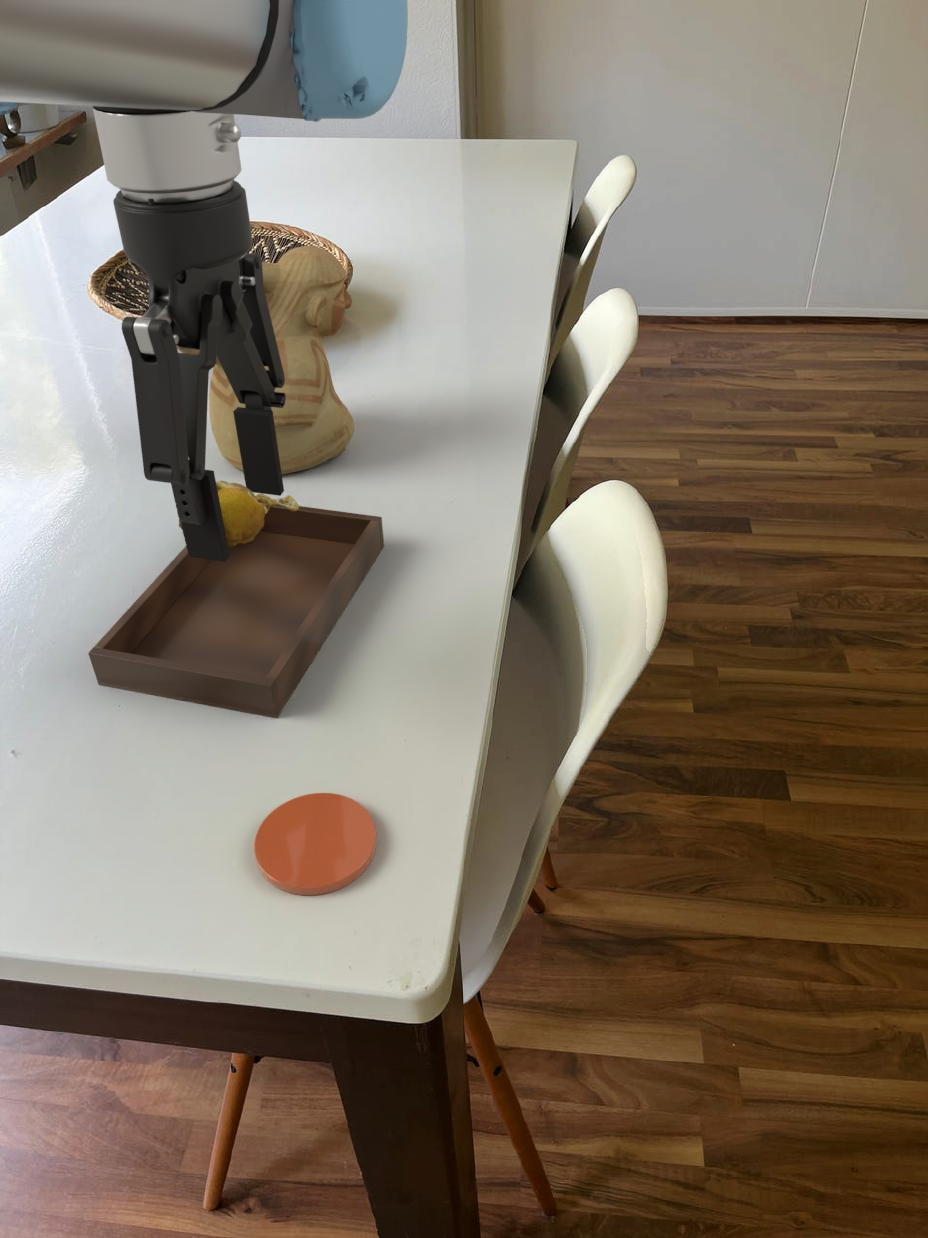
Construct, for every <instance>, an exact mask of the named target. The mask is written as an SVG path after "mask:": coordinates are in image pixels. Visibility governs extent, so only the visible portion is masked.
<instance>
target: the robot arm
mask: <svg viewBox="0 0 928 1238" xmlns="http://www.w3.org/2000/svg"><path fill="white" fill-rule="evenodd" d="M408 5H409V4H408V0H0V116H5V115H8V114H11V113H12V112H13V110H14V109H17V108H19V107H21V106H28V105H36V104H37V105H38V104H39V105H40V104H42V105H63V106H64V105H65V106H82V107H83V106H85V107H92V111H93V112H92V113H93V116H94V122H95V126H96V131H97V135H98V142H99V145H100V150H101V155H102V161H103V166H104V170H105V175H106V180H107V181H108V182H109V183H110V184H111V185H112V186H113V187H114V188H117V189H119V191H117V193H116V194H115V197H114V199H113V201H112V202H113V207H114V212H115V216H116V222H117V226H118V230H119V235H120V240H121V245H122V249H123V252H124V255H125V256H126V258H127V259H128V260H129V261H130V262H131V263H133V264H134V265H136V266H138V267H139V268H140V269H141V270H142V271H143V272H144V273H145V274H146V275H147V281H148V282H147V283H148V295H147V296H148V297H147V302H148V309H147V310H146V311H145V312H144V314H143V315H142V316H139V317H137V316H125V317H123V319H122V322H121V333H122V335H123V337H124V341H125V344H126V347H127V350H128V353H129V356H130V359H131V361H130V362H131V368H132V377H133V386H134V395H135V405H136V413H137V422H138V430H139V431H138V432H139V439H140V450H141V459H142V467H143V475H144V477H145V479H146V480H147V481H152V482H157V483H159V482H160V483H167V484H170V485H171V489H172V490H171V491H172V494H173V499H174V504H175V508H176V512H177V513H176V514H177V517H178V520H179V519H180V521H181V524H182V528H183V531H182V534H183V533H184V535H183V538H184V537H185V538H184V542H185V546H187V551H188V556H189V557H195V558H202V559H209V560H216V561H223V562H225V561H226V560H227V559H228V558H229V556H230V554H229V548H228V543H227V538H226V533H225V527H224V522H223V517H222V512H221V506H220V501H219V496H218V491H217V485H216V482H217V481H216V475H215V471H214V470H212V469H211V470H210V469H206V455H207V454H206V453H207V426H208V425H207V424H208V404H209V377H210V376H209V375H210V374H209V373H210V370H213V368H214V366H215V365H216V361H217V358H218V360H219V362H220V364H221V366H222V368H223V370H224V372H225V374H226V376H227V378H228V380H229V383H230V385H231V387H232V389H233V391H234V393H235V395H236V397H237V399H238V401H239V403H241V404H245V408H243V407H237V408H236V409H235V410H234V411H233V413H234V419H235V425H236V431H237V437H238V443H239V449H240V454H241V460H242V466H243V471H242V472H243V477H244V483H245V487H247V488H248V489H249V490H250V491H252V492H253V494H255V493H256V494H261V493H263V494H264V495H272V496H278V497H280V496H281V495H282V494H283V493H284V492H285V487H284V481H283V474H282V473H281V466H280V459H279V452H278V445H277V438H276V431H275V424H274V417H273V411H272V410H271V407H277V408H283V407H284V405H285V401H286V396H285V393H280V392H275V389H276V388H282V387H283V386H284V382H285V376H284V371H283V367H282V363H281V359H280V355H279V350H278V346H277V342H276V338H275V334H274V329H273V325H272V321H271V317H270V313H269V308H268V304H267V300H266V296H265V292H264V285H263V271H262V262H263V260H262V257H261V255H260V254H259V253H251V252H249V251H250V250H251V248H252V245H253V234H252V227H251V219H250V213H249V206H248V199H247V192H246V189H245V188H244V187H243V186H242V184H240V183H239V181H236V180H235V179H236V178H238V176H239V175H240V174H241V171H242V163H241V156H240V148H239V141H240V139H241V138H242V130H241V128H240V126H239V124H237V123H236V122H235V121H236V120H235V115H241V116H255V117H256V116H257V117H270V118H282V119H296V120H297V119H298V120H304V121H306V122H314V123H318V122H320V121H321V120H330V119H332V120H335V119H336V120H356V119H357V120H359V119H365V118H368V117H371V116H374V115H375V114H377V113H378V112H379V111H380V110H382V109H383V107H384V106H385V105H386V104H387V103H388V102H389V100H390V99H391V98H392V96H393V94H394V92H395V90H396V88H397V85H398V83H399V80H400V77H401V76H402V75H401V74H402V70H403V67H404V62H405V57H406V53H407V51H406V50H407V42H408V24H409V7H408ZM176 345H177V346H178V347H180V349H191V350H199V353H198V354H186V353H182V352H179V350H178V349H177V347H176ZM264 366H268V368H269V370H265V367H264Z"/></svg>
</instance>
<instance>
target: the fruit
mask: <svg viewBox="0 0 928 1238" xmlns="http://www.w3.org/2000/svg"><path fill="white" fill-rule="evenodd" d="M216 485H217V491H218V496H219V501H220V506H221V512H222V517H223V522H224V527H225V533H226V538H227V543H228V546H229V547H233V546H234V545H236V544H238V543H247V542H250V541H252V540H254V537H255V536H256V535H257V534H258V533H259V532H260V530H261V529H262V528H263V527H264V523H265V521H264V517H265V514H266V513H267V512H268V510H269V509H270V508H271V506H272V505H273V504H279V505H280V506H283V507H287V508H288V509H290V510H291V513H293V512H295V511H298V509H299V506H300V505H299V503H298V502H297V501H296V499H295V498H294V497H292V496H291V495H290V494H289V495H286V496H285V497H280V496H278V497H277V499H276V498H271V497H270V496H268V495H267V494H263V493H256V495H255V493H254V492H252V491H250V490H249V489H248V488H247V487H246V485H243V484H242V483H241V484H240V483H237V482H230V481H229V482H228V481H225V480H218V481H216ZM291 513H290V514H291ZM290 514H289V515H290ZM178 527H179V528H180V529H181V531H182V534H183V538H184V539H185V537H184V533H183V528H182V524H181V521H180V519H179V518H178Z"/></svg>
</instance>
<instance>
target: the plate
mask: <svg viewBox="0 0 928 1238" xmlns="http://www.w3.org/2000/svg"><path fill="white" fill-rule="evenodd" d="M377 836H378V835H377V829H376V824H375V822H374V819H373V818H372V815H371V814H370V812H369V811H368V810H367V809H366V807H365V806H363V805H362V804H361V803H360V802H358V801H357V800H355V799H353V798H351V797H349V796H345V795H343V794H338V793H332V792H314V793H308V794H307V793H306V794H303V795H300V796H296V797H294V798H292V799H289V800H287V801H286V802H283V803H282V804H280V805H279V806H277V807H276V808H275V809H273V810H271V812H270V813H269V814H268V815H267V816H266V817H265V818H264V820H263V821H262V822H261V823H260V825H259V827H258V830H257V832H256V835H255V837H254V844H253V851H254V857H255V860H256V861H255V862H256V865H257V867H258V870H259V872H260V874H261V875H262V877H264V879H265V880H266V881H267V882H268V883H269V884H270V885H272V886H273V887H275V888H277V889H278V890H281V891H283V892H286V893H288V894H294V895H299V896H319V895H325V894H328V893H333V892H335V891H338V890H340V889H342V888H344V887H347V886H348V885H349V884H351V883H352V882H354V881H356V880H357V879H358V878H360V876H361V875H362V874H363V873H364V872H365V871H366V870H367V868H368V867H369V866H370V864H371V862H372V860H373V859H374V857H375V854H376V850H377V844H378V837H377Z"/></svg>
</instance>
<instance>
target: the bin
mask: <svg viewBox="0 0 928 1238" xmlns="http://www.w3.org/2000/svg"><path fill="white" fill-rule="evenodd" d="M290 513H291V510H290V509H288V508H287V507H283V506H280V505H279V504H273V505H272V506H271V508H270V509H269V510H268V512H267V513H266V514H265V517H264V521H265V523H264V527H263V528H262V529H261V530H260V532H259V533H258V534H257V535H256V536H255V537H254V540H252V541H250V542H247V543H238V544H236V545H234V546H233V547H229V546H228V548H229V554H230V556H229V558H228V559H227V560H226V561H225V562H223V561H216V560H209V559H202V558H195V557H189V556H188V551H187V546H186V545H185V546H184V547H183V548H182V549H181V550H180V552H178V553H177V555H176V556H175V557H174V558H173V559H172V561H171V562H170V563H169V564H167V566H166V567H165V568H164V569H163V570H162V572H160V573H159V575H158V576H157V577H156V578H155V579H154V580H153V582H152V583H150V585H149V586H147V588H146V589H145V590H144V591H143V592H142V593H141V595H140V596H139V597H138V598H137V599H136V600H135V601H134V602H133V603H132V604H131V606H130V607H128V608H127V610H126V611H125V612H124V614H122V616H120V618H119V619H118V620H117V621H116V622H115V623H114V624H113V625H112V627H110V628H109V630H108V631H107V632H105V634H104V635H103V636H102V637H101V638H100V640H99V641H98V642H96V644H95V645H94V646H93V647H92V648H91V649H90V651H88V653H87V654H88V657H89V661H90V663H91V666H92V669H93V672H94V676H95V678H96V681H97V684H98V685H100V686H103V687H109V688H114V689H120V690H125V691H130V692H136V693H142V694H147V695H152V696H157V697H163V698H167V699H172V700H178V701H183V702H188V703H189V702H190V703H195V704H199V705H206V706H211V707H216V708H221V709H226V710H232V711H236V712H237V711H238V712H241V713H242V712H243V713H246V714H247V713H248V714H253V715H258V716H264V717H270V718H275V719H278V717H279V716H280V715H281V712H282V711H283V709H284V708H285V706H286V704H287V703H288V701H289V700H290V698H291V697H292V695H293V693H294V692H295V690H296V688H297V687H298V685H299V684H300V682H301V680H302V679H303V677H304V676H305V674H306V672H307V671H308V669H310V666H311V665H312V663H313V661H315V658H316V657H317V656H318V654H319V652H320V650H321V649H322V647H323V645H324V644H325V642H326V641H327V639H328V637H329V636H330V634H331V632H332V631H333V629H334V627H335V626H336V624H337V623H338V621H339V620H340V618H341V616H342V615H343V613H344V612H345V610H346V608H347V607H348V605H349V604H350V602H351V601H352V599H353V597H354V595H355V594H356V592H357V590H358V589H359V587H360V586H361V584H362V583H363V581H364V580H365V578H366V577H367V574H368V573H369V572H370V570H371V568H372V567H373V565H374V563H375V562H376V561H377V559H378V557H379V555H380V554H381V552H382V551H383V549H384V547H385V541H384V529H383V528H384V527H383V519H382V518H383V517H382V516H379V515H378V516H377V515H369V514H362V513H356V512H355V513H354V512H348V511H347V512H346V511H340V510H333V509H324V508H317V507H309V506H302V505H299V509H298V511H295V512H293V513H291V514H290ZM289 514H290V515H289Z"/></svg>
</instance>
